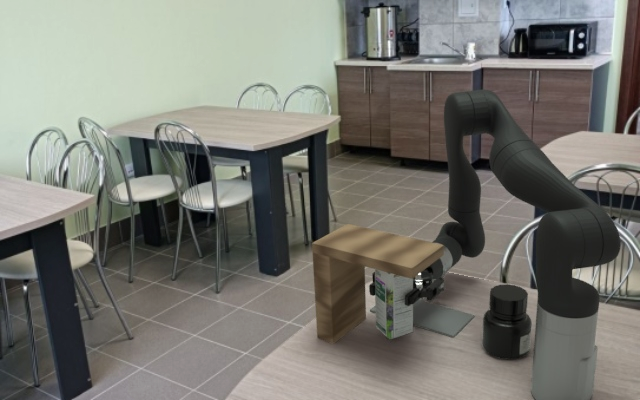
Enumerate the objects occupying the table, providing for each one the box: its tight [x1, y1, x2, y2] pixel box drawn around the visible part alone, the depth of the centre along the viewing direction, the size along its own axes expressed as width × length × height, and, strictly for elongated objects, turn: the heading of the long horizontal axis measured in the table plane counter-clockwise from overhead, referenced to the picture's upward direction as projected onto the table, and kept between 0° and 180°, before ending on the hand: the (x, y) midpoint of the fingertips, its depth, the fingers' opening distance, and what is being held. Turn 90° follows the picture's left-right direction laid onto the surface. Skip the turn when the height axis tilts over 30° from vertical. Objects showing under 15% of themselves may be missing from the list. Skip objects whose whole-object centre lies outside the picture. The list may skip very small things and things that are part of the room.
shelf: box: [311, 223, 444, 344], centre depth 122 cm, size 22×12×21 cm, turn 53°
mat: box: [369, 299, 476, 338], centre depth 134 cm, size 20×10×1 cm, turn 53°
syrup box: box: [374, 269, 414, 340], centre depth 123 cm, size 6×6×14 cm
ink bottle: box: [481, 284, 533, 360], centre depth 118 cm, size 10×9×12 cm
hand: (388, 296), depth 121 cm, fingers closed on syrup box, 7 cm apart
